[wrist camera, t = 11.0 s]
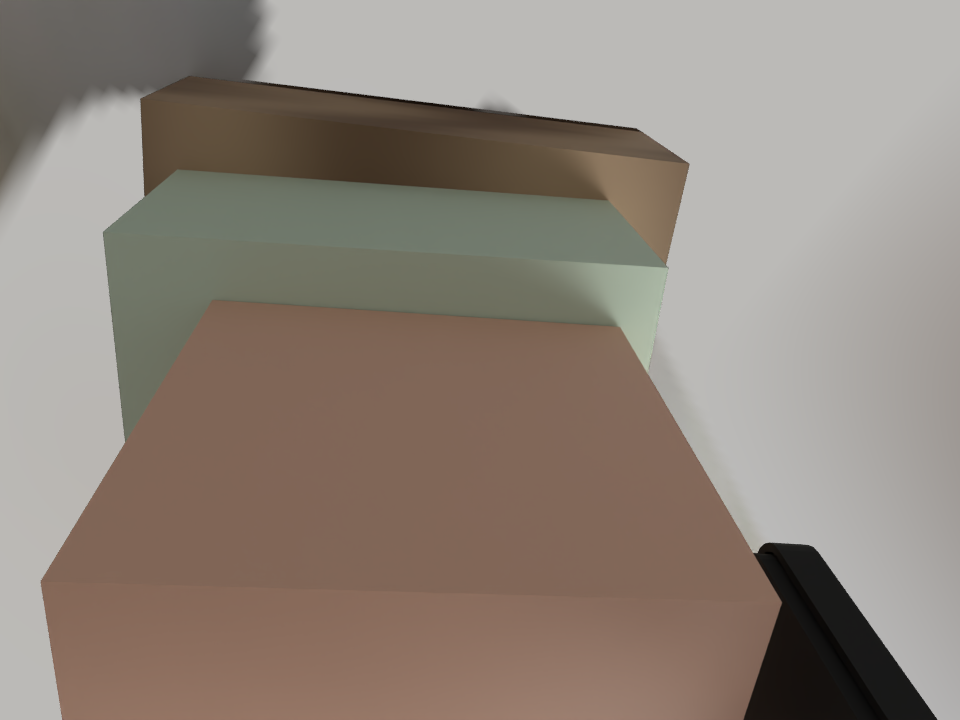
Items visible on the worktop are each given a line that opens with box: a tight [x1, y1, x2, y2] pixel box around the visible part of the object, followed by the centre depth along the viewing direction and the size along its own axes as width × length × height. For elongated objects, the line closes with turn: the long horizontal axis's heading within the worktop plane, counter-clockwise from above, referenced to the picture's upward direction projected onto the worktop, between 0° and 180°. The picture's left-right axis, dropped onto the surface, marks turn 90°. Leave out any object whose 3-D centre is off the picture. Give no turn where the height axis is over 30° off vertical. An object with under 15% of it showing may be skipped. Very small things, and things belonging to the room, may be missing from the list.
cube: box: [41, 300, 782, 720], centre depth 11 cm, size 6×6×6 cm
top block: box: [103, 169, 668, 442], centre depth 15 cm, size 8×8×4 cm
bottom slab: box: [140, 76, 689, 265], centre depth 19 cm, size 10×10×4 cm
